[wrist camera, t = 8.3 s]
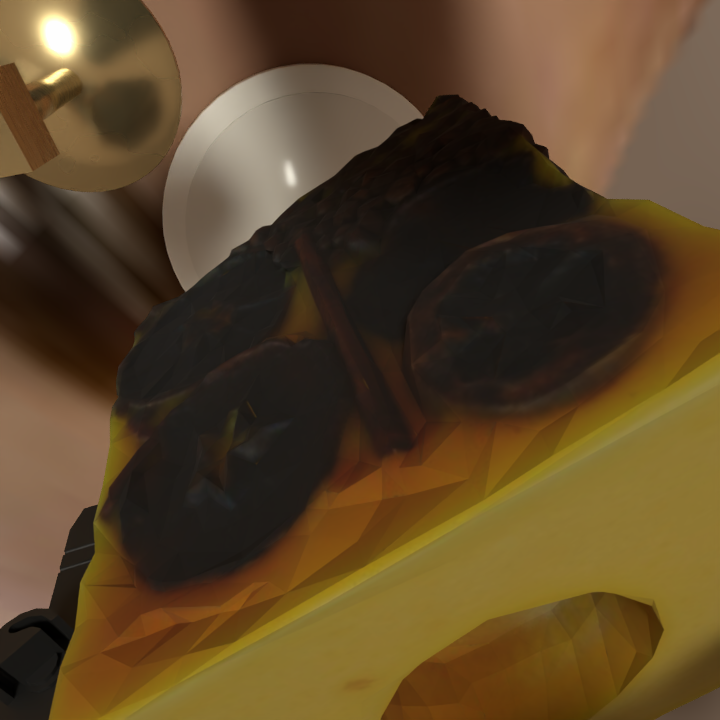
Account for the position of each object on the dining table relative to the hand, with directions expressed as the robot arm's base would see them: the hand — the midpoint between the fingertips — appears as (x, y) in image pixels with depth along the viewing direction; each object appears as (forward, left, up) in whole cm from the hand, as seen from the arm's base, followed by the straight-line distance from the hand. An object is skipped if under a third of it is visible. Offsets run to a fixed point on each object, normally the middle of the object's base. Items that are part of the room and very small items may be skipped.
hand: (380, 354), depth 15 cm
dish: (0, 0, -11) cm, 11 cm away
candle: (0, 0, -1) cm, 1 cm away
